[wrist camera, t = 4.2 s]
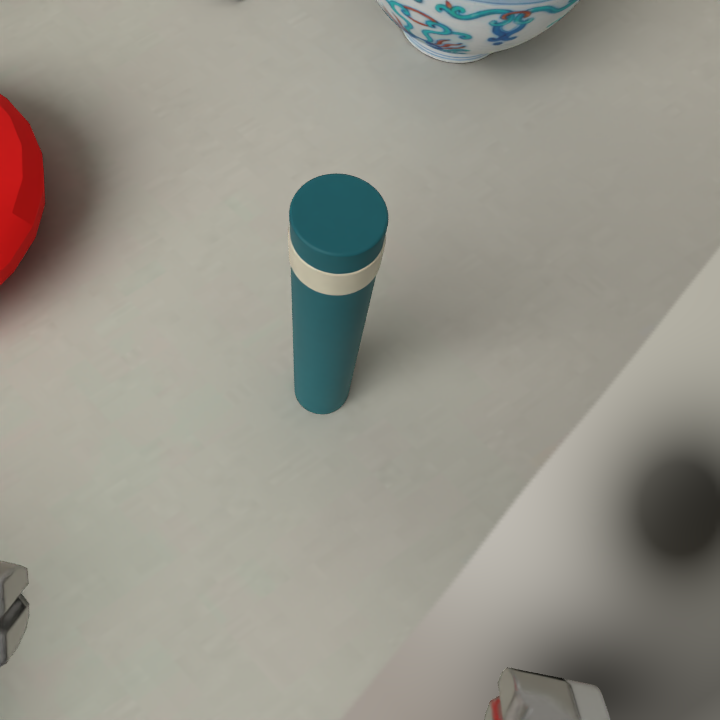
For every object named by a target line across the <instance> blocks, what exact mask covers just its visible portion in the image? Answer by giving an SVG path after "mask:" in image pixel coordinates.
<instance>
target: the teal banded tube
mask: <svg viewBox="0 0 720 720" xmlns="http://www.w3.org/2000/svg"><path fill="white" fill-rule="evenodd" d="M289 221H290V224H289V228H288V247H289V261H290V264H291V287H292V320H293V353H294V386H295V395H296V398H297V400H298V401H299V403H300V404H301V405H302V406H303V407H304V408H305V409H306V410H308V411H310V412H312V413H316V414H328V413H331V412H334V411H336V410H338V409H339V408H340V407H341V406H342V405H343V404H344V403H345V401H346V399H347V397H348V393H349V389H350V385H351V381H352V376H353V372H354V368H355V363H356V359H357V355H358V351H359V346H360V342H361V338H362V333H363V329H364V325H365V321H366V316H367V312H368V308H369V303H370V299H371V295H372V290H373V286H374V282H375V278H376V274H377V272H378V270H379V267H380V264H381V259H382V255H383V251H384V247H385V241H386V230H387V226H388V210H387V207H386V204H385V202H384V200H383V198H382V196H381V195H380V194H379V192H378V191H377V190H376V189H375V188H374V187H373V186H371V185H370V184H369V183H367V182H366V181H364V180H362V179H360V178H357V177H354V176H351V175H346V174H327V175H322V176H319V177H316V178H314V179H312V180H310V181H308V182H307V183H305V184H304V185H303V186H302V187H301V188H300V189H299V190H298V191H297V193H296V194H295V196H294V197H293V199H292V202H291V205H290V210H289Z"/></svg>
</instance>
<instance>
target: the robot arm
mask: <svg viewBox="0 0 720 720" xmlns="http://www.w3.org/2000/svg"><path fill="white" fill-rule="evenodd" d="M28 584H29V583H28V571H27V568H25V567H23V566H21V565H16V564H12V563H8V562H4V561H0V667H1V666H2V665H4V664H6V663H7V662H8V660H9V659H10V658H11V656H12V655H13V653H14V652H15V651H16V649H17V648H18V646H19V644H20V642H21V639H22V637H23V635H24V633H25V631H26V628H27V624H28V619H29V603H28V602H27V600H26V599H25V598H24V596H23V595H22V594H21V592H22V591H23V590H24V589H25V587H26V586H27V585H28ZM498 688H499V695H500V696H498V697H496V698H495V699H493V700H491V701H490V703H489V705H488V708H487V711H486V714H485V718H484V720H611V719H610V716H609V714H608V710H607V708H606V705H605V702H604V699H603V696H602V693H601V691H600V690H599V689H598V687H597V686H595V685H590V684H586V683H581V682H576V681H571V680H564V679H562V678H558V677H553V676H548V675H543V674H538V673H533V672H528V671H523V670H517V669H513V668H508V667H507V668H506V669H505V670H504V671H503V672H502V674H501V676H500V678H499V681H498Z"/></svg>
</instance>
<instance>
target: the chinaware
mask: <svg viewBox="0 0 720 720" xmlns="http://www.w3.org/2000/svg"><path fill="white" fill-rule="evenodd" d="M376 1H377V3H378V4H379V5H380V7H381V8H382V9H383V11H384V12H385V13H386V14H387V15H388V16H389V18H390V19H391V20H392V21H393V22H394V23H395V24H396V25H398V26H399V27H400V28H401V29H402V30H403V32H404V34H405V36H406V38H407V39H408V40H409V41H410V43H411V44H412V45H413V46H414V47H416V48H417V49H418V50H420V51H421V52H423V53H424V54H426V55H428V56H430V57H432V58H435V59H438V60H441V61H445V62H451V63H467V62H473V61H477V60H480V59H482V58H484V57H486V56H488V55H489V54H491V53H493V52H498V51H502V50H506V49H509V48H512V47H514V46H517V45H520V44H522V43H524V42H526V41H528V40H530V39H532V38H534V37H536V36H538V35H539V34H541V33H542V32H544V31H545V30H547V29H548V28H550V27H551V26H552V25H554V24H555V23H556V22H558V21H559V20H560V19H561V18H562V17H563V16H565V15H566V14H567V13H568V12H569V11H570V10H571V9H572V8H573V7H574V6H575V5H576V4H577V3H578V2H579V1H580V0H376Z"/></svg>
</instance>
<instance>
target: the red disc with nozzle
mask: <svg viewBox="0 0 720 720" xmlns="http://www.w3.org/2000/svg"><path fill="white" fill-rule="evenodd" d="M44 206H45V187H44V168H43V157H42V152H41V150H40V147H39V145H38V143H37V140H36V138H35V136H34V133H33V131H32V129H31V126H30V124H29V122H28V121H27V120H26V119H25V118H24V117H23V116H22V115H21V114H20V112H19V111H18V110H17V109H16V108H15V107H14V106H13V105H12V104H11V102H10V101H9V100H8V99H7V98H6V97H4V96H3V95H1V94H0V285H1V284H2V283H3V282H4V281H5V280H6V279H7V278H8V277H9V276H10V275H11V274H12V273H14V271H15V270H16V268H17V266H18V265H19V263H20V262H21V260H22V258H23V257H24V255H25V254H26V252H27V251H28V249H29V247H30V246H31V244H32V243H33V241H34V239H35V238H36V234H37V231H38V227H39V224H40V220H41V217H42V213H43V210H44Z"/></svg>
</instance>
